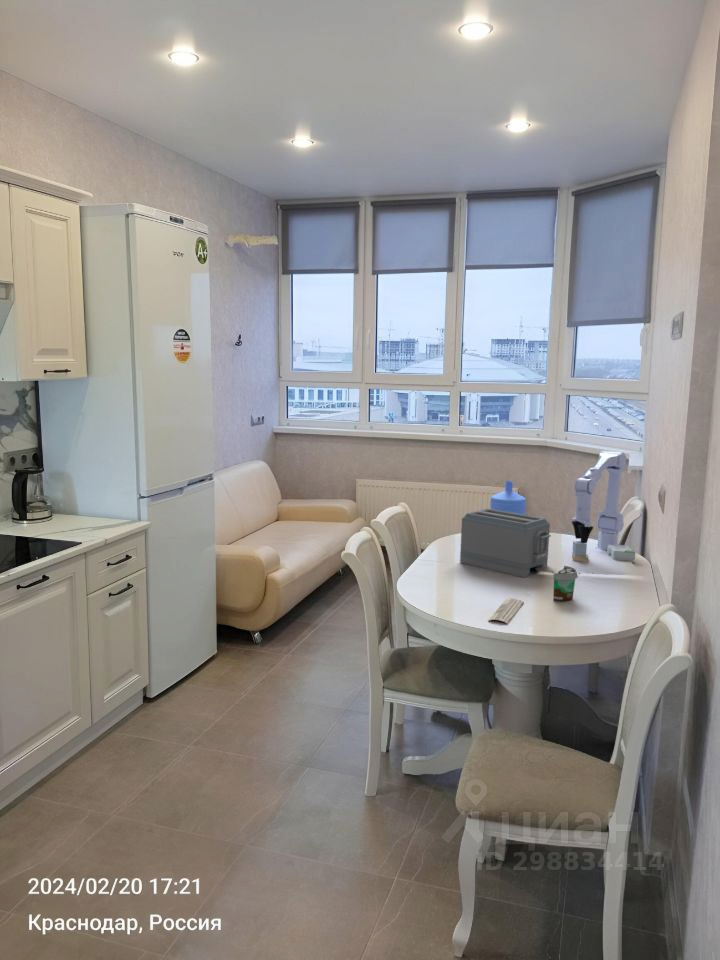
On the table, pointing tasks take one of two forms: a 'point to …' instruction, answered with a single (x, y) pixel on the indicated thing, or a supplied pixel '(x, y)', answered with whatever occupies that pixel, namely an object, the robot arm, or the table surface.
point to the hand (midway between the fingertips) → (581, 540)
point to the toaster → (504, 541)
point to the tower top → (580, 558)
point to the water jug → (508, 501)
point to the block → (579, 548)
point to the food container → (564, 584)
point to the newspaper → (507, 610)
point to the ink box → (621, 552)
